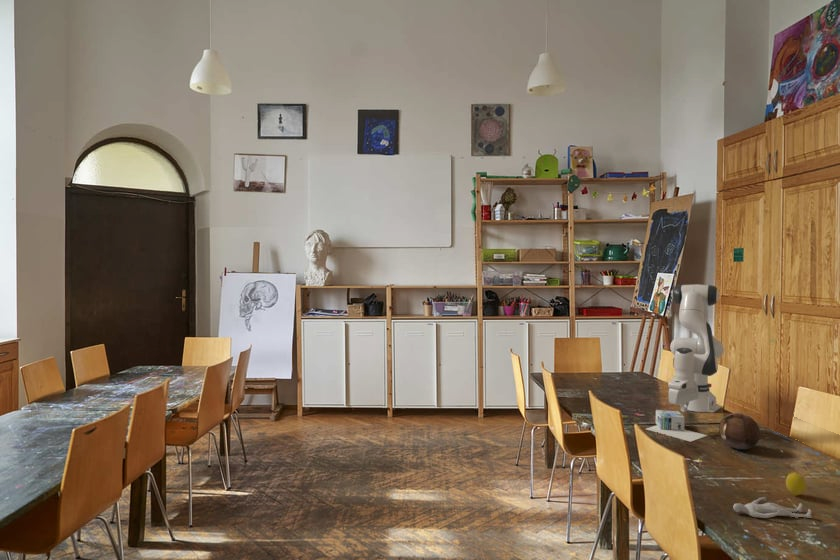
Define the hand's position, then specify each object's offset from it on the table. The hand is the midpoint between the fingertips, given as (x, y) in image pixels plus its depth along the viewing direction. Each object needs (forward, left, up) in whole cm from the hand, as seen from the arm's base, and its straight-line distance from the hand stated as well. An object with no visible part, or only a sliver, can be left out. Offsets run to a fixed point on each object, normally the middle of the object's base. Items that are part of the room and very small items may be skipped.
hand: (684, 411), depth 245 cm
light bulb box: (-2, -2, -6) cm, 6 cm away
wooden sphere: (+5, +27, -9) cm, 29 cm away
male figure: (+60, +61, -10) cm, 86 cm away
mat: (+7, 0, -9) cm, 11 cm away
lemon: (+38, +60, -9) cm, 72 cm away
